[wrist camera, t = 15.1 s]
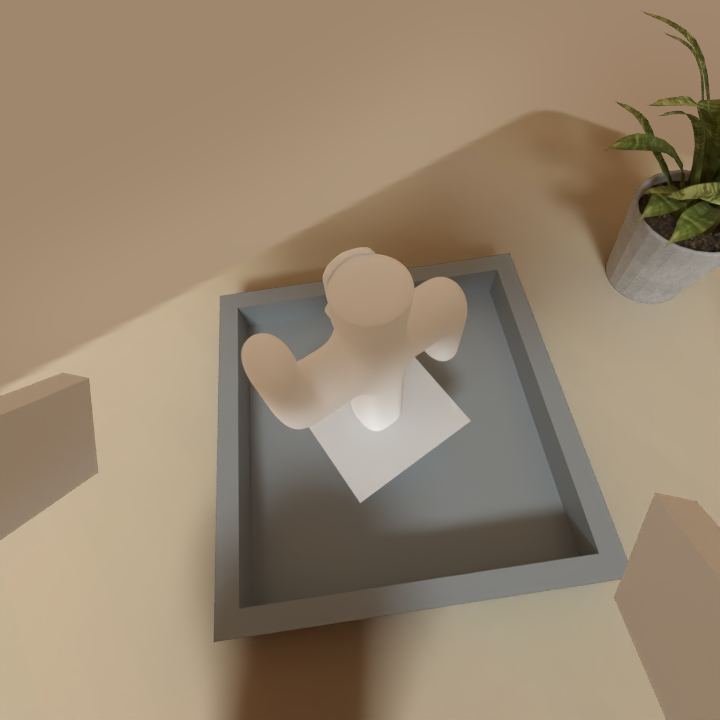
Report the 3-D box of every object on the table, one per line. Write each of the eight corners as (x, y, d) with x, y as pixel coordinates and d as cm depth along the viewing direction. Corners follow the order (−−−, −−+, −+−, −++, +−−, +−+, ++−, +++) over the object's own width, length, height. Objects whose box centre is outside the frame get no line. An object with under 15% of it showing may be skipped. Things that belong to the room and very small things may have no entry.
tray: (499, 280, 32) (509, 253, 30) (605, 577, 23) (634, 577, 20) (234, 319, 32) (220, 296, 29) (234, 634, 23) (213, 641, 20)
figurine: (474, 430, 26) (560, 277, 13) (348, 525, 24) (298, 458, 11) (402, 347, 29) (413, 154, 16) (284, 426, 27) (183, 279, 14)
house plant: (526, 192, 36) (618, -69, 22) (702, 193, 35) (924, -83, 20) (547, 340, 30) (699, 111, 15) (764, 347, 28) (1153, 105, 14)
